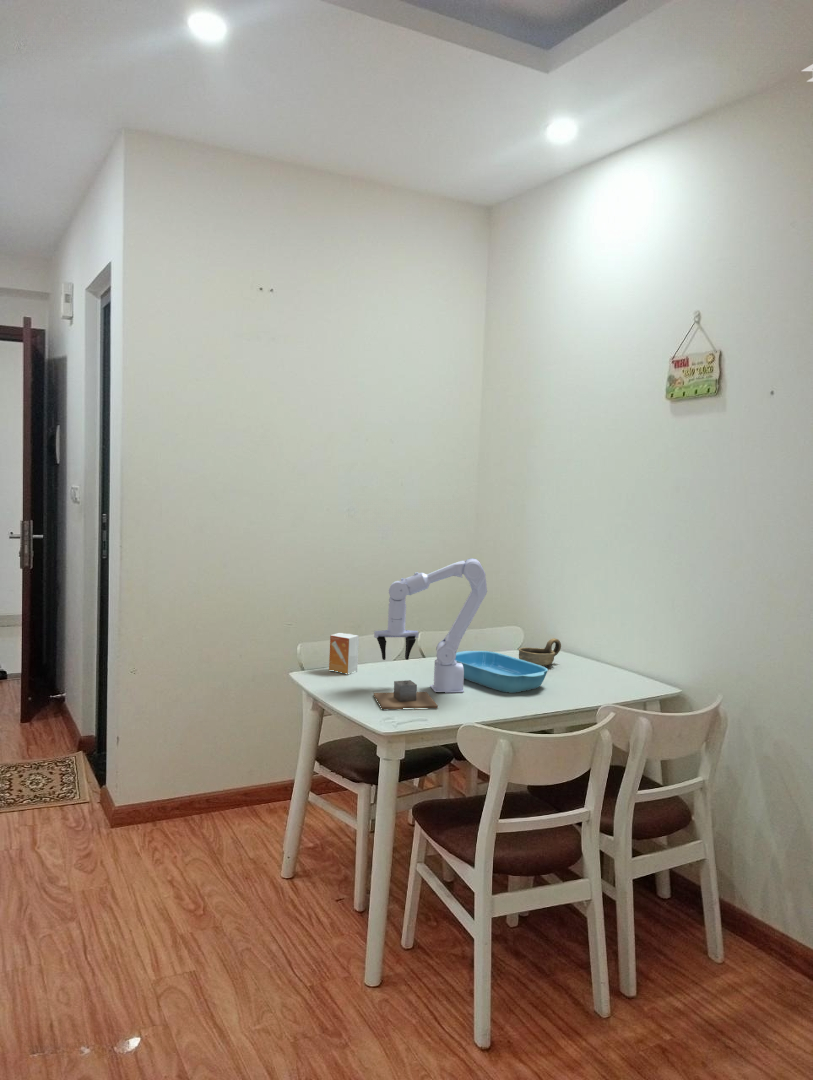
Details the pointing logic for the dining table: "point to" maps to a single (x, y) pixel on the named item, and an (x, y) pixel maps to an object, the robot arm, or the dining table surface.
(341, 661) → the small box
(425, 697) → the post board
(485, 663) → the casserole dish
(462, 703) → the dining table surface
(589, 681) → the dining table surface
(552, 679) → the dining table surface
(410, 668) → the dining table surface
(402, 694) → the square cap
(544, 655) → the bowl
